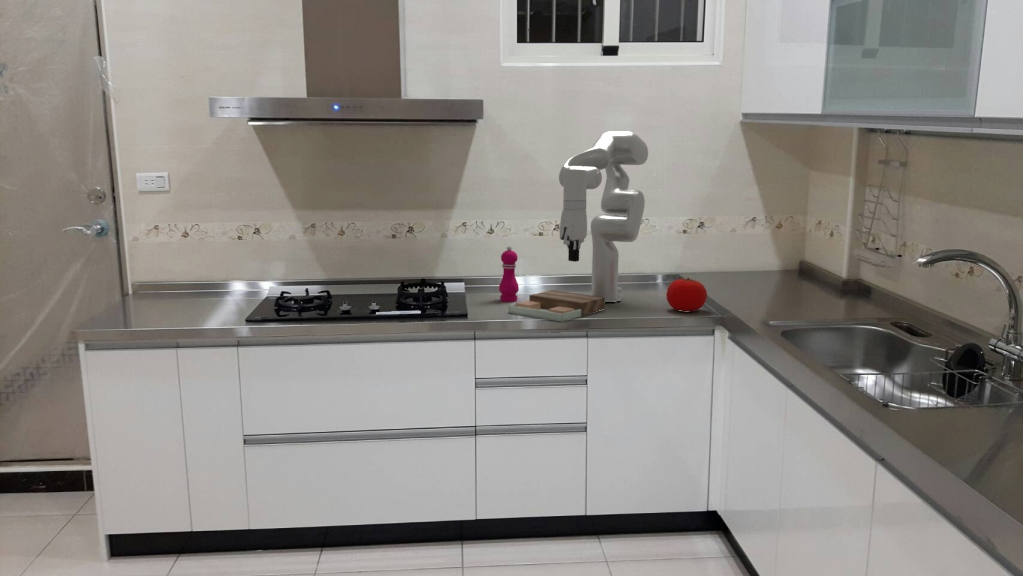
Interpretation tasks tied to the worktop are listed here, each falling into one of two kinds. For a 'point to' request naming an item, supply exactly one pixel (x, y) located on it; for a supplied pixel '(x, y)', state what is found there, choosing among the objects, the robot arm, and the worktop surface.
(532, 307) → the tile
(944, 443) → the worktop surface
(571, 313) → the tray
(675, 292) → the tomato
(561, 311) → the tile
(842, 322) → the worktop surface
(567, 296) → the board
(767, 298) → the worktop surface
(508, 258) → the pepper mill
